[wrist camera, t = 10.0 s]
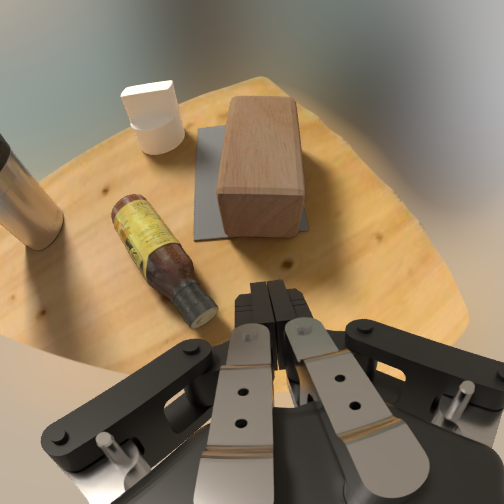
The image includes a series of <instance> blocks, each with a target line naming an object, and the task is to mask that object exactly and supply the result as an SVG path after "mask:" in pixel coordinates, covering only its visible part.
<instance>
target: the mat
mask: <svg viewBox="0 0 504 504" xmlns="http://www.w3.org/2000/svg"><path fill="white" fill-rule="evenodd" d="M225 129H226V125H225V126H215V127H207V128H199V129H198V136H197V153H196V173H195V200H194V241H199V240H210V239H220V238H231V237H241V236H228V235H226V234H225V232H224V229H223V225H222V220H221V216H220V211H219V206H218V202H217V197H216V187H217V180H218V173H219V166H220V160H221V153H222V147H223V141H224V135H225ZM300 231H309V227H308V222H307V218H306V213H305V208H304V205H303V210H302V214H301V219H300V223H299V228H298V232H300Z"/></svg>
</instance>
